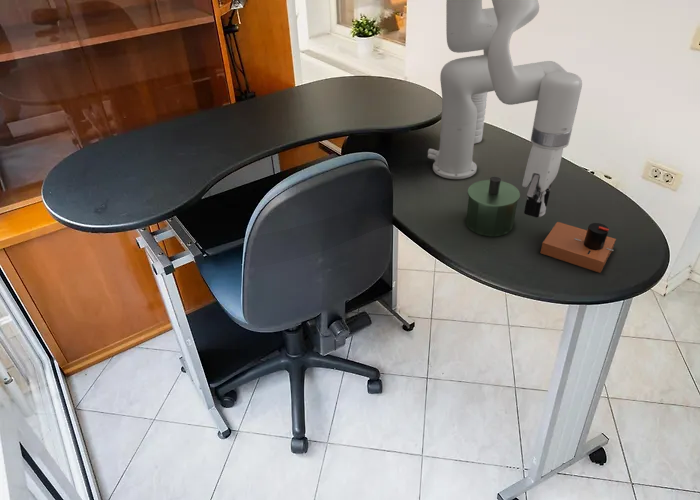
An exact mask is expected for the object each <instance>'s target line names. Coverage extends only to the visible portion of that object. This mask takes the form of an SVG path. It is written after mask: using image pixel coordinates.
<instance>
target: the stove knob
mask: <svg viewBox="0 0 700 500" xmlns="http://www.w3.org/2000/svg"><path fill="white" fill-rule="evenodd" d="M586 230H587V233H586V237H585V240H584V245H585V246H586V247H587V248H589V249H592V250H601V249H602V248H603V247H604V243H605V240H606V237H607V236H608V235H609V230H610V229H609V227H608V226H607V225H605V224H604V223H600V222H592V223H590V224H588V227H587V229H586Z"/></svg>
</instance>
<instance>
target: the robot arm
mask: <svg viewBox="0 0 700 500" xmlns="http://www.w3.org/2000/svg"><path fill="white" fill-rule="evenodd" d="M491 1H492V6H493V7H487V8H483V0H446V3H445V4H446V5H445V6H446V12H445V13H446V14H445V15H446V18H445V19H446V20H445V21H446V23H445V24H446V25H445V26H446V27H445V28H446V30H445V31H446V44H447V47H448V49H449V51H451V52H453V53H458V54H459V53H460V54H461V53H470V52H476V51H477V52H478V51H483V54H480V55H472V56H465V57H459V58H454V59H452V60H449V61H447V63H445V64H444V65H443V67H442V68H441V71H440V75H439V81H440V88H441V120H440V121H441V122H440V132H439V133H440V134H439V135H440V136H439V149H438V150H436V149H434V148H428V150H427V159H430V160H434V162H433V164H432V170H433V172H434V173H435V174H436V175H437V176H439V177H441V178H444V179H447V180H448V179H449V180H464V179H468V178H471V177H472V176H474V175H475V174H476V173H477V170H478V165H477V163H476V162H474V161H473V157H474V156H473V155H474V147H475V144H474V139H475V130H476V121H477V108H476V106H475V104H474V103H473V102H472V100H471V96H472V95H475V94H479V93H485V92H488V93H489V92H490V93H491V92H494V93H495V95H496V97H497V99H498V100H499V101H500V102H501V103H503V104H505V105H510V106H511V105H512V106H513V105H519V104H524V103H525V104H526V103H530V102H536V109H535V113H534V118H533V119H534V120H533V125H532V131H531V135H530V142H531V144H532V146H531V149H530V152H529V154H528V158H527V162H526V166H525V171H524V174H523V178H522V179H523V180H522V183H521V186H522V188H523V189H525V188H526V189H527V188H528V187H529V188H528V191H527V192H526V201H525V207H524V210H523V211H524V212H523V214H524V215H526V216H529V217H531V216H533V217H532V218H537V219H538V218H539V217H538V216H539V214H540V209H541V204H542V202H541V197H542V194H543V191H546V194H545V195H544V203H545V206H546V207H547V206H548V202H549V198H550V193H551V191H550V190H551V188H552V183H553V181H555V180H556V178H557V175H558V173H559V170H560V166H561V162H562V157H563V152H564V148H567V147H568V146H569V143H570V140H571V136H572V131H573V126H574V122H575V118H576V114H577V109H578V105H579V101H580V96H581V92H582V87H583V80H582V78H581V77H580V76H579V75H578V74H576V73H573V72H569V71H567V70H566V69H565V68H564V67H563V66H561V64H559V63H558V62H556V61H553V60H544V61H538V62H531V63H523V64H517V65H514V63H513V60H512V56H511V52H510V43H511V39H512V35H513V34H514V33H515V32H516V31H518V30H520V29H521V28H523V27H525V26H526V25H528V24H529V23H531V22H532V21H533V20H534V19H535V18H536V17H537V16H538V14H539V11H540V5H539V1H538V0H491ZM537 186H539V187H540V188H538V187H537ZM536 191H537V192H539V195H537V194H535V192H536Z"/></svg>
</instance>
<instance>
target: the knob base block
mask: <svg viewBox="0 0 700 500" xmlns="http://www.w3.org/2000/svg"><path fill="white" fill-rule="evenodd" d="M587 230H588V229H584V228H580V227H577V226H575V225H571V224H567V223H563V222H560V221H557V222H555V224H554V225H553V227H552V229H551V230H550V232H549V233H547V236H546V237H545V239H544V240H543V241H542V243H541V249H540V254H542V255H545V256H548V257H550V258H554V259H557V260H558V261H559V260H560V261H563V262H566V263H568V264H572V265H575V266H578V267H581V268H583V269H587V270H590V271H593V272H596V273H599V274H601V273H602V271H603V269H604V267H605V265H606V264H607V262H608V259H609V258H610V255H611V254H612V252H614V247H615V244H616V241H617V238H614V237H611V236H608V235H607V237H606V240H605V243H604V247H603V248H602V249H601V250H592V249H589V248H587V247H586V246H585V245H584V240H585V237H586V233H587Z"/></svg>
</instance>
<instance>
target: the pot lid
mask: <svg viewBox="0 0 700 500" xmlns="http://www.w3.org/2000/svg"><path fill="white" fill-rule="evenodd" d="M467 195H468V198H469V197H470V199H472V200H473V201H474V202H476V203H478V204H480V205H484V206H488V207H507V206H510V205H513V204H515V203H516V202H517V201H518V202H519V200H520V198H521V192H520V190H519V188H517V187H516V186H515V185H514V184H511V183H509V182H506V181H503V180H502V179H501V178H500V176H499V177H498V176H492V177H490V178H489V179H483V180H478V181H476V182H473V183H472V184H470V185H469V186H468V189H467ZM518 202H517V203H518Z"/></svg>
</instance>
